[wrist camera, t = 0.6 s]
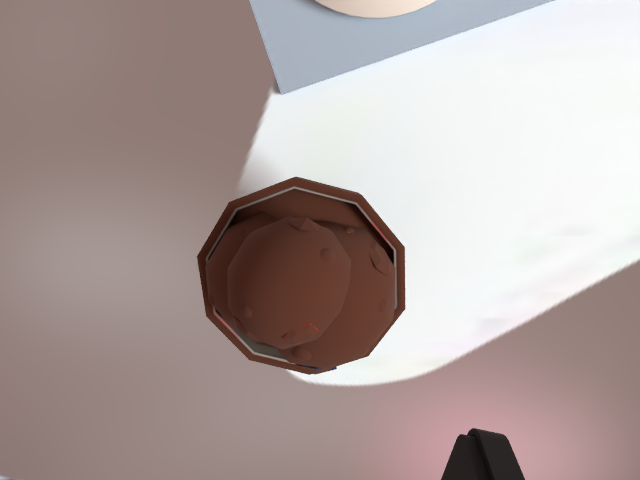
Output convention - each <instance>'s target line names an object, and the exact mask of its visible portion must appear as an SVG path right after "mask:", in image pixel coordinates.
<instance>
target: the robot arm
mask: <svg viewBox="0 0 640 480" xmlns="http://www.w3.org/2000/svg"><path fill="white" fill-rule="evenodd" d="M441 480H525V478H524V476H523V474H522V471H521V469H520V466H519V464H518V462H517V459H516V457H515V455H514V452H513V450H512V447H511V445H510V443H509V440H508V439H507V437H506V436H505V435H503V434H499V433H494V432H489V431H485V430H480V429H475V428H473V429H471V430H470V431H469V432H468V434H467V435H463V434H461V435H459V436H458V438H457V440H456V442H455V445H454V447H453V450H452V453H451V455H450V458H449V461H448V463H447V466H446V468H445V471H444V473H443V476H442V479H441Z"/></svg>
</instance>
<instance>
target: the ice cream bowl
mask: <svg viewBox="0 0 640 480" xmlns="http://www.w3.org/2000/svg"><path fill="white" fill-rule="evenodd" d="M197 258H198V265H199V272H200V278H201V285H202V291H203V298H204V304H205V311H206V316H207V317H208V318H209V319H210V320H211V321H212V322H213V323H214V324H215V325H216V327H218V329H219V330H220V331H221V332H222V333H223V334H224V335H225V336H226V337H227V338H228V339H229V340H230V341H231V342H232V343H233V344H234V345H235V346H236V347H237V348H238V349H239V350H240V351H241V352H242V353H243V354H244V355H245V356H246V357H247V358H248V359H249V360H252V361H256V362H260V363H264V364H268V365H272V366H276V367H281V368H285V369H289V370H293V371H297V372H301V373H305V374H309V375H310V374H319V373H322V372H326V371H330V370H334V369H337V368H336V366H339V365H342V364H345V363H348V362H351V361H354V360H358V359H361V358H364V357H367V356H369V355H370V353H371V352H372V351H373V349H374V348H375V347H376V346H377V344H378V343H379V342H380V340H381V339H382V338H383V337H384V335H385V334H386V333H387V331H388V330H389V329H390V328H391V326H392V325H393V324H394V323H395V321H396V320H397V319H398V317H399V316H400V315H401V314H402V312H403V311H404V310H405V247H404V246H403V245H402V243H401V242H400V241H399V240H398V239H397V237H396V236H395V235H394V234H393V233H392V231H391V230H390V229H389V228H388V226H387V225H386V224H385V223H384V222H383V220H382V219H381V218H380V217H379V215H378V214H377V213H376V212H375V211H374V209H373V208H372V207H371V206H370V204H369V203H368V202H367V201H366V200H365V198H364V197H363V196H362V195H361V194H359V193H357V192H353V191H349V190H345V189H342V188H338V187H334V186H330V185H326V184H322V183H319V182H315V181H311V180H307V179H303V178H299V177H293V178H291V179H288V180H286V181H283V182H280V183H278V184H275V185H273V186H270V187H267V188H265V189H262V190H260V191H257V192H254V193H252V194H249V195H247V196H244V197H241V198H239V199H236V200H234V201H231V202H229V203H228V205H227V207H226V209H225V210H224V212H223V214H222V216H221V217H220V219H219V220H218V222H217V224H216V225H215V227H214V229H213V231H212V232H211V234H210V236H209V237H208V239H207V241H206V242H205V244H204V246H203V247H202V249H201V251H200V253H199V254H198V256H197Z"/></svg>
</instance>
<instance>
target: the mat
mask: <svg viewBox="0 0 640 480" xmlns="http://www.w3.org/2000/svg"><path fill="white" fill-rule="evenodd" d="M551 1H554V0H436V1H434V2H433V3H431V4H429V5H428V6H425V7H423V8H421V9H419V10H416V11H414V12H411V13H408V14H404V15H400V16H396V17H389V18H360V17H353V16H349V15H346V14H342V13H339V12H336V11H334V10H332V9H329V8H327V7H325V6H323V5H321V4H320V3H318V2H316V1H315V0H249V2H250V5H251V8H252V11H253V13H254V16H255V19H256V22H257V25H258V28H259V31H260V34H261V37H262V40H263V43H264V46H265V48H266V51H267V54H268V57H269V60H270V63H271V66H272V69H273V72H274V75H275V78H276V81H277V83H278V86H279V89H280V92H281V95H282V94H285V93H288V92H291V91H294V90H297V89H300V88H303V87H306V86H308V85H311V84H314V83H317V82H320V81H323V80H326V79H329V78H332V77H334V76H337V75H340V74H343V73H346V72H349V71H352V70H355V69H358V68H360V67H363V66H366V65H369V64H372V63H375V62H378V61H381V60H384V59H386V58H389V57H392V56H395V55H398V54H401V53H404V52H407V51H409V50H412V49H415V48H418V47H421V46H424V45H427V44H430V43H433V42H435V41H438V40H441V39H444V38H447V37H450V36H453V35H456V34H459V33H461V32H464V31H467V30H470V29H473V28H476V27H479V26H482V25H485V24H487V23H490V22H493V21H496V20H499V19H502V18H505V17H508V16H511V15H513V14H516V13H519V12H522V11H525V10H528V9H531V8H534V7H537V6H539V5H542V4H545V3H548V2H551Z"/></svg>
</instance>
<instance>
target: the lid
mask: <svg viewBox="0 0 640 480" xmlns="http://www.w3.org/2000/svg"><path fill="white" fill-rule="evenodd" d="M315 1H316V2H318V3H320V4H321V5H323V6H325V7H327V8H329V9H332V10H334V11H336V12H339V13H342V14H346V15H349V16H353V17H360V18H389V17H396V16H400V15H404V14H408V13H411V12H414V11H416V10H419V9H421V8H423V7H425V6H428V5H429V4H431V3H433V2H434V1H436V0H315Z"/></svg>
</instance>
